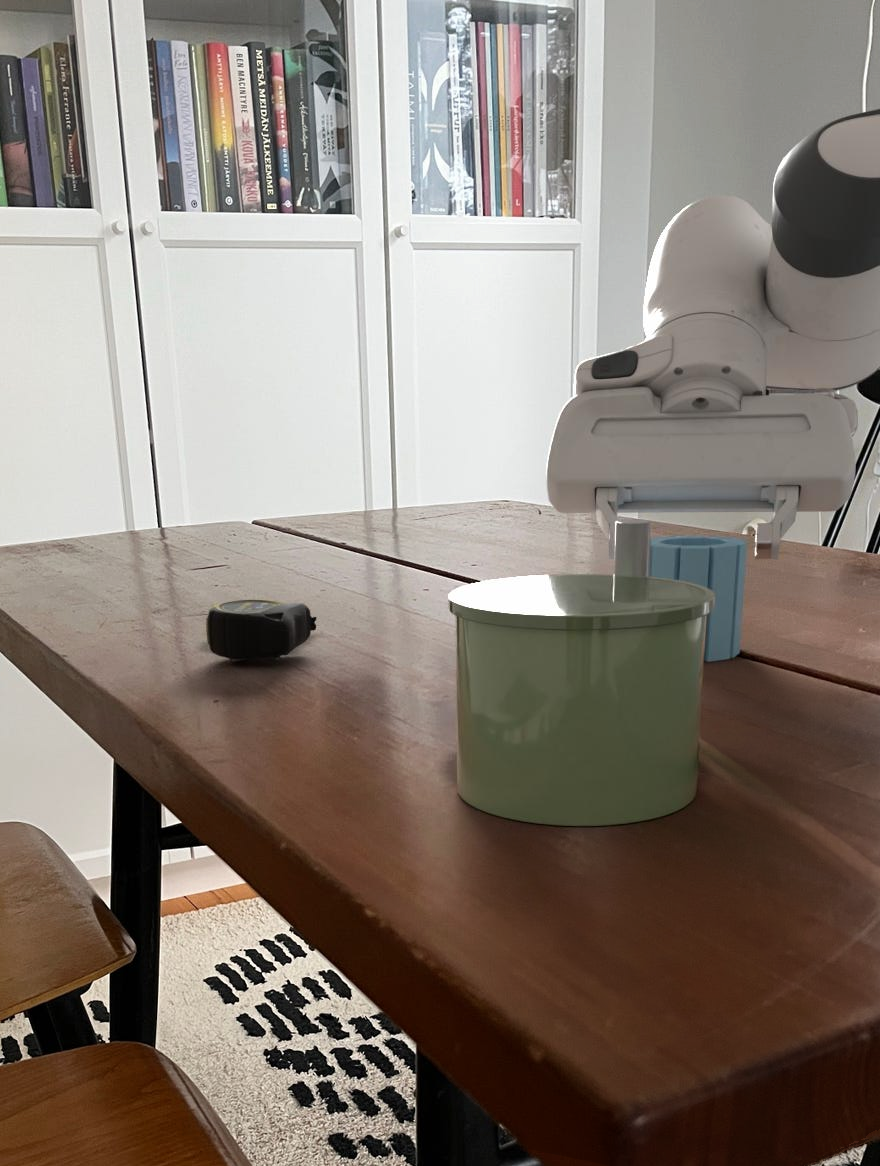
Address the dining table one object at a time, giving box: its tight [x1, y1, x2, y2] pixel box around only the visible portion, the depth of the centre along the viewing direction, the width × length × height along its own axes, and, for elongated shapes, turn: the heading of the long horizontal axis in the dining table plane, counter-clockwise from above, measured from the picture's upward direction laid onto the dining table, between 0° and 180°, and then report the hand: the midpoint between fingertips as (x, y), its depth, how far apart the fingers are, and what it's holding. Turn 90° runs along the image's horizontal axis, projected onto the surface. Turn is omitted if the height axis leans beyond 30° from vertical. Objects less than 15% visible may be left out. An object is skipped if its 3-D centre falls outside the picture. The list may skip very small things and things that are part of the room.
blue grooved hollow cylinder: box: [649, 535, 748, 663], centre depth 81 cm, size 6×7×8 cm
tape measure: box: [205, 599, 317, 663], centre depth 88 cm, size 7×7×4 cm
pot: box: [447, 519, 715, 827], centre depth 60 cm, size 20×12×11 cm, turn 158°
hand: (692, 554), depth 83 cm, fingers open, 8 cm apart
